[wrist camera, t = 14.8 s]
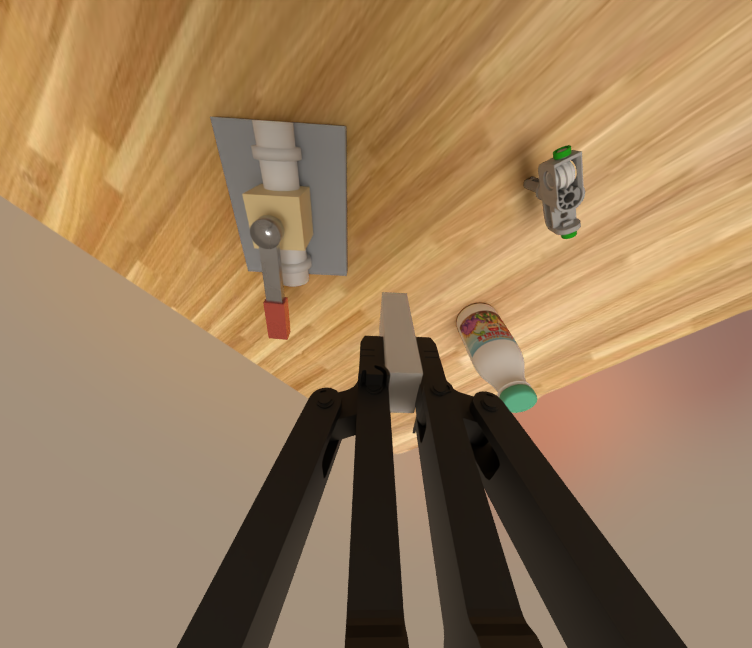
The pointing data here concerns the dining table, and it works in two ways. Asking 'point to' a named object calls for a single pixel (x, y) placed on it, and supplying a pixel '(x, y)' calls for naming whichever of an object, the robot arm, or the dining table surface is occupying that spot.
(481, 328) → the milk bottle
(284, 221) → the pipe valve base
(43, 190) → the dining table surface
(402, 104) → the dining table surface
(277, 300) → the valve lever
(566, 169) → the mechanical component
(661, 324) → the dining table surface
